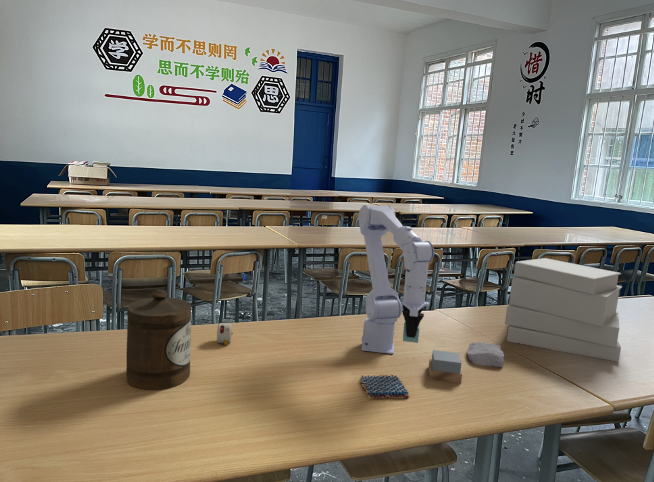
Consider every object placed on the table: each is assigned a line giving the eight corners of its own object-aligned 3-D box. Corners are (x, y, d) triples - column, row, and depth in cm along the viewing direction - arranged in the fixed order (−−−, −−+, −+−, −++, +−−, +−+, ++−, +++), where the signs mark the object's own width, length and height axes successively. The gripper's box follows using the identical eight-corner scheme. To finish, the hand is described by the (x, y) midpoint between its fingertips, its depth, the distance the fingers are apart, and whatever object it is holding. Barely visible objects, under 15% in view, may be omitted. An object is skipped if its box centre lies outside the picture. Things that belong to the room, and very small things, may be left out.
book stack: (625, 368, 144) (640, 284, 140) (501, 345, 157) (511, 267, 153) (610, 337, 171) (621, 266, 167) (506, 319, 184) (514, 253, 180)
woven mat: (396, 380, 126) (397, 373, 126) (410, 400, 116) (411, 392, 116) (358, 381, 124) (358, 374, 124) (368, 401, 114) (369, 393, 114)
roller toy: (233, 338, 147) (233, 320, 146) (231, 346, 141) (232, 327, 140) (218, 338, 146) (218, 320, 145) (216, 346, 140) (216, 327, 139)
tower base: (429, 380, 127) (430, 370, 127) (428, 368, 135) (429, 358, 135) (460, 384, 126) (462, 374, 126) (457, 372, 134) (458, 362, 134)
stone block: (470, 370, 140) (506, 368, 137) (468, 354, 139) (504, 352, 137) (466, 356, 151) (500, 354, 149) (465, 341, 151) (498, 339, 149)
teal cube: (402, 341, 130) (404, 326, 129) (402, 336, 134) (404, 322, 133) (417, 342, 129) (419, 328, 129) (417, 337, 133) (418, 323, 133)
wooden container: (186, 389, 113) (187, 299, 110) (119, 390, 111) (119, 298, 107) (193, 363, 128) (194, 283, 124) (134, 364, 125) (134, 281, 122)
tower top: (432, 370, 127) (434, 359, 126) (431, 360, 134) (432, 349, 133) (460, 373, 126) (461, 362, 125) (457, 363, 133) (458, 352, 132)
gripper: (432, 294, 122) (426, 345, 124) (429, 280, 136) (424, 327, 138) (403, 291, 123) (399, 342, 125) (403, 278, 137) (399, 324, 139)
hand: (410, 334), depth 131 cm, fingers closed on teal cube, 4 cm apart
